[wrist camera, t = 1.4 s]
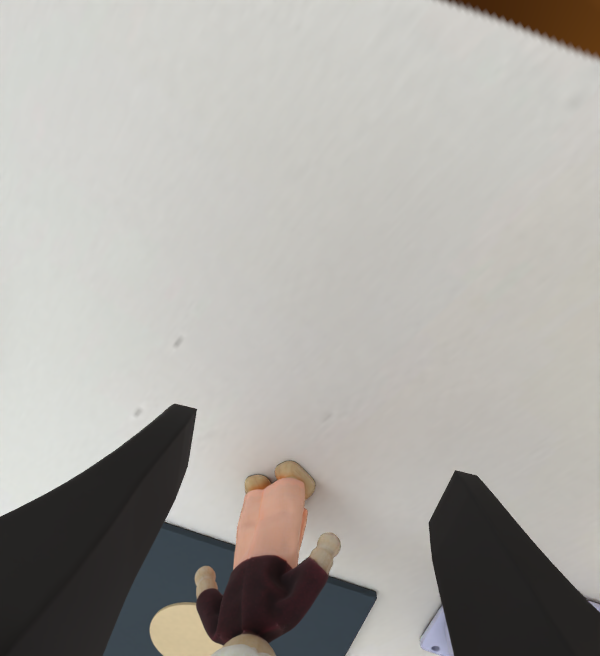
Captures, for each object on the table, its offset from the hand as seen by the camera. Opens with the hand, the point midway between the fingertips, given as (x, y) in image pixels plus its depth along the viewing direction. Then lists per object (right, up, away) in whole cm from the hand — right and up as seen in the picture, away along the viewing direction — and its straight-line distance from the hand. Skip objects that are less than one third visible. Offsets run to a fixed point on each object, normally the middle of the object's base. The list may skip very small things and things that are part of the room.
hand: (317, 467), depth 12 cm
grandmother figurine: (-1, -5, +14) cm, 15 cm away
